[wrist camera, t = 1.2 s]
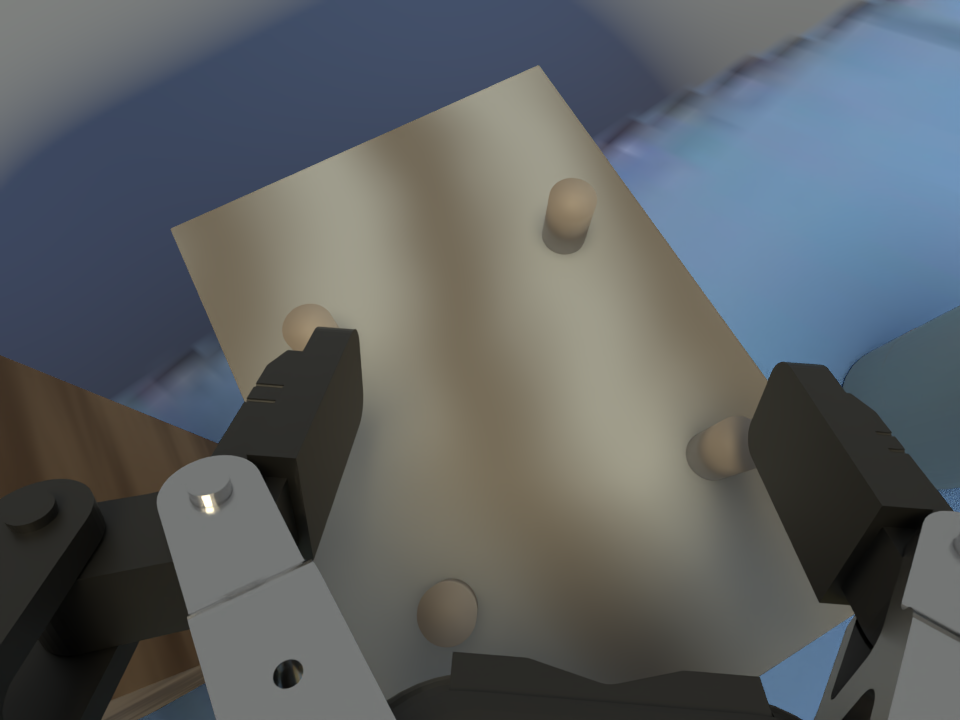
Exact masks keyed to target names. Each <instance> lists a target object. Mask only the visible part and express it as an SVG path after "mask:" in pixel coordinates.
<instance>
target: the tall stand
mask: <svg viewBox="0 0 960 720" xmlns="http://www.w3.org/2000/svg"><path fill="white" fill-rule="evenodd" d="M217 445H218V443H215V442H213V441H210V440H208V439H205V438H203V437H200V436H198V435H195V434H193V433H191V432H188V431H186V430H183V429H181V428H178V427H176V426H173V425H171V424H168V423H166V422H163V421H161V420H158V419H156V418H154V417H151V416H149V415H146V414H144V413H141V412H139V411H136V410H134V409H131V408H129V407H126V406H124V405H121V404H119V403H117V402H114V401H112V400H109V399H107V398H104V397H102V396H99V395H97V394H94V393H92V392H89V391H87V390H84V389H82V388H79V387H77V386H74V385H72V384H70V383H67V382H65V381H62V380H60V379H57V378H55V377H52V376H50V375H47V374H45V373H43V372H40V371H38V370H35V369H33V368H30V367H28V366H25V365H23V364H20V363H18V362H15V361H13V360H10V359H8V358H5V357H3V356H1V355H0V499H1V498H2V497H4V496H6V495H8V494H9V493H11V492H13V491H15V490H17V489H20V488H22V487H24V486H27V485H30V484H33V483H37V482H41V481H45V480H52V479H71V480H75V481H79V482H81V483H83V484H85V485H86V486H87V487H89V488H90V490H91V491H92V493H93V495H94V497H95V500H96V502H102V501H108V500H114V499H120V498H126V497H132V496H138V495H144V494H149V493H154V492H158V491H160V489H161V487H162V486H163V484H164V483H165V482H166V480H167V479H168V478H169V477H170V476H171V475H173V474H174V473H175V472H176V471H178V470H179V469H181V468H182V467H184V466H186V465H188V464H189V463H192V462H194V461H197V460H199V459H203V458H206V457H211V455H212V454H213V452H214V450H215V449H216V447H217ZM204 683H205V680H204V676H203V673H202V669H201V666H200V662H199V659H198V655H197V652H196V649H195V645H194V642H193V638H192V635H191V631H190V630H185V631H181V632H177V633H172V634H168V635H163V636H159V637H154V638H150V639H146V640H141V641H139V643H138V645H137V648H136V650H135V652H134V654H133V656H132V658H131V660H130V662H129V664H128V666H127V668H126V670H125V672H124V674H123V676H122V678H121V680H120V682H119V684H118V686H117V688H116V691H115V693H114V695H113V697H112V699H111V701H110V703H109V705H108V707H107V709H106V711H105V713H104V715H103V717H102V719H101V720H138V719H140V718H142V717H144V716H146V715H148V714H150V713H152V712H154V711H156V710H158V709H160V708H161V707H163V706H165V705H167V704H169V703H170V702H172V701H174V700H176V699H177V698H179V697H181V696H183V695H184V694H186V693H188V692H190V691H192V690H193V689H195V688H197V687H199V686H200V685H202V684H204Z"/></svg>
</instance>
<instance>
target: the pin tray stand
mask: <svg viewBox="0 0 960 720" xmlns="http://www.w3.org/2000/svg"><path fill="white" fill-rule="evenodd" d="M171 231H172V233H173V236H174V238H175V240H176V243H177V245H178V247H179V250H180V252H181V254H182V257H183V259H184V261H185V264H186V266H187V268H188V271H189V273H190V275H191V277H192V280H193V282H194V285H195V287H196V289H197V291H198V294H199V296H200V299H201V301H202V303H203V305H204V308H205V310H206V312H207V315H208V317H209V319H210V322H211V324H212V326H213V329H214V331H215V334H216V336H217V338H218V341H219V343H220V345H221V348H222V350H223V352H224V355H225V357H226V359H227V362H228V364H229V366H230V369H231V371H232V373H233V375H234V378H235V380H236V382H237V385H238V387H239V389H240V392H241V394H242V396H243V399H244V401H245V402H246V401H247V397H248V395H249V393H250V392H251V390H252V389H253V387H256V382H257V380H258V379H259V377H260V376H261V374H262V372H263V371H264V369H265V367H266V366H267V365H268V364H269V363H270V362H272V361H273V360H274V359H276V358H277V357H279V356H280V355H281V354H283V353H284V352H285V351H287V350H295V351H303V350H304V348H305V346H306V344H307V342H308V341H309V339H310V337H311V335H312V333H313V331H314V330H315V328H316V327H318V326H319V327H332V328H346V329H356V330H357V332H358V335H359V341H360V355H361V368H362V381H363V411H362V417H361V422H360V425H359V428H358V431H357V434H356V437H355V440H354V443H353V446H352V449H351V452H350V455H349V458H348V461H347V464H346V467H345V470H344V473H343V476H342V478H341V481H340V484H339V487H338V490H337V493H336V496H335V499H334V502H333V505H332V508H331V511H330V514H329V517H328V520H327V523H326V526H325V529H324V532H323V535H322V537H321V540H320V543H319V546H318V549H317V552H316V555H315V558H314V561H313V562H314V563H315V565H316V566H317V568H318V570H319V572H320V573H321V575H322V577H323V579H324V581H325V583H326V585H327V587H328V589H329V591H330V593H331V595H332V597H333V598H334V600H335V602H336V604H337V606H338V608H339V610H340V612H341V614H342V616H343V618H344V620H345V622H346V624H347V626H348V628H349V629H350V631H351V633H352V635H353V637H354V639H355V641H356V643H357V645H358V647H359V649H360V651H361V653H362V655H363V657H364V659H365V660H366V662H367V664H368V666H369V668H370V670H371V672H372V674H373V676H374V678H375V680H376V682H377V684H378V686H379V688H380V690H381V691H382V693H383V695H384V697H385V699H386V701H387V700H388V699H390V698H391V697H393V696H394V695H396V694H398V693H399V692H401V691H403V690H405V689H407V688H409V687H411V686H413V685H416V684H418V683H421V682H424V681H427V680H430V679H433V678H437V677H441V676H446V675H451V665H452V654H453V652H464V653H476V654H489V655H501V656H513V657H525V658H530V659H533V660H536V661H539V662H542V663H545V664H547V665H550V666H553V667H556V668H559V669H562V670H565V671H568V672H571V673H574V674H576V675H579V676H582V677H585V678H588V679H591V680H594V681H597V682H600V683H604V684H618V683H623V682H628V681H633V680H638V679H643V678H648V677H653V676H658V675H663V674H668V673H673V672H678V671H683V670H684V671H697V672H709V673H721V674H733V675H746V676H758V677H759V676H761V675H762V674H764V673H765V672H767V671H768V670H770V669H771V668H773V667H774V666H776V665H777V664H779V663H780V662H782V661H784V660H785V659H787V658H788V657H790V656H791V655H793V654H794V653H796V652H797V651H799V650H800V649H802V648H803V647H805V646H806V645H808V644H809V643H811V642H812V641H814V640H816V639H817V638H819V637H820V636H822V635H823V634H825V633H826V632H828V631H829V630H831V629H832V628H834V627H835V626H837V625H838V624H840V623H841V622H843V621H845V620H846V619H848V618H849V617H851V616H852V615H854V612H853V610H852V608H851V606H850V605H839V604H827V603H819V602H818V599H817V597H816V595H815V593H814V591H813V589H812V586H811V584H810V582H809V580H808V578H807V576H806V574H805V571H804V569H803V567H802V565H801V563H800V561H799V559H798V556H797V554H796V552H795V550H794V548H793V546H792V543H791V541H790V539H789V537H788V535H787V533H786V531H785V528H784V526H783V524H782V522H781V520H780V518H779V516H778V513H777V511H776V509H775V507H774V505H773V503H772V500H771V498H770V496H769V494H768V492H767V490H766V488H765V485H764V483H763V481H762V479H761V477H760V475H759V473H758V470H757V468H756V466H755V464H754V462H753V460H752V457H751V455H750V452H749V447H748V431H749V426H750V423H751V421H752V418H753V416H754V413H755V411H756V408H757V406H758V404H759V401H760V399H761V396H762V394H763V392H764V389H765V387H766V384H767V382H768V381H767V379H766V378H765V376H764V375H763V374H762V372H761V371H760V370H759V368H758V367H757V365H756V364H755V363H754V361H753V360H752V359H751V357H750V356H749V354H748V353H747V352H746V350H745V349H744V348H743V346H742V345H741V343H740V342H739V341H738V339H737V338H736V336H735V335H734V334H733V332H732V331H731V330H730V328H729V327H728V325H727V324H726V323H725V321H724V320H723V319H722V317H721V316H720V314H719V313H718V312H717V310H716V309H715V308H714V306H713V305H712V303H711V302H710V301H709V299H708V298H707V297H706V295H705V294H704V292H703V291H702V290H701V288H700V287H699V285H698V284H697V283H696V281H695V280H694V279H693V277H692V276H691V274H690V273H689V272H688V270H687V269H686V268H685V266H684V265H683V263H682V262H681V261H680V259H679V258H678V257H677V255H676V254H675V252H674V251H673V250H672V248H671V247H670V246H669V244H668V243H667V241H666V240H665V239H664V237H663V236H662V234H661V233H660V232H659V230H658V229H657V228H656V226H655V225H654V223H653V222H652V221H651V219H650V218H649V217H648V215H647V214H646V212H645V211H644V210H643V208H642V207H641V206H640V204H639V203H638V201H637V200H636V199H635V197H634V196H633V194H632V193H631V192H630V190H629V189H628V188H627V186H626V185H625V183H624V182H623V181H622V179H621V178H620V177H619V175H618V174H617V172H616V171H615V170H614V168H613V167H612V166H611V164H610V163H609V161H608V160H607V159H606V157H605V156H604V155H603V153H602V152H601V150H600V149H599V148H598V146H597V145H596V143H595V142H594V141H593V139H592V138H591V137H590V135H589V134H588V133H587V131H586V130H585V128H584V127H583V126H582V124H581V123H580V122H579V120H578V119H577V117H576V116H575V115H574V113H573V112H572V111H571V109H570V108H569V107H568V105H567V104H566V102H565V101H564V100H563V98H562V97H561V95H560V94H559V93H558V91H557V90H556V88H555V87H554V86H553V85H552V83H551V82H550V80H549V79H548V77H547V76H546V75H545V73H544V72H543V70H542V69H541V68H540V66H539V65H538V66H536V67H534V68H531V69H529V70H527V71H524V72H522V73H520V74H518V75H515V76H513V77H511V78H509V79H506V80H504V81H502V82H500V83H498V84H495V85H493V86H491V87H489V88H486V89H484V90H482V91H480V92H477V93H475V94H473V95H471V96H468V97H466V98H464V99H462V100H459V101H457V102H455V103H452V104H450V105H448V106H446V107H443V108H441V109H439V110H437V111H434V112H432V113H430V114H428V115H426V116H423V117H421V118H419V119H417V120H414V121H412V122H410V123H408V124H405V125H403V126H401V127H399V128H396V129H394V130H392V131H390V132H387V133H385V134H383V135H381V136H378V137H376V138H374V139H372V140H369V141H367V142H365V143H363V144H360V145H358V146H356V147H354V148H351V149H349V150H347V151H345V152H342V153H340V154H338V155H336V156H333V157H331V158H329V159H327V160H324V161H322V162H320V163H318V164H315V165H313V166H311V167H309V168H306V169H304V170H302V171H300V172H298V173H295V174H293V175H291V176H288V177H286V178H284V179H282V180H279V181H277V182H275V183H273V184H270V185H268V186H266V187H264V188H261V189H259V190H257V191H255V192H252V193H250V194H248V195H246V196H244V197H241V198H239V199H237V200H234V201H232V202H230V203H228V204H225V205H223V206H221V207H219V208H217V209H214V210H212V211H210V212H208V213H205V214H203V215H201V216H198V217H196V218H194V219H192V220H189V221H187V222H185V223H183V224H180V225H178V226H176V227H174V228H171Z"/></svg>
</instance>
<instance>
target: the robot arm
mask: <svg viewBox="0 0 960 720" xmlns="http://www.w3.org/2000/svg"><path fill="white" fill-rule="evenodd" d="M362 411H363V381H362V368H361V355H360V341H359V335H358V332H357V330H356V329H346V328H332V327H319V326H318V327H316V328H315V330H314V331H313V333H312V335H311V337H310V339H309V341H308V342H307V344H306V346H305V348H304V350H303V351H295V350H287V351H285V352H284V353H283V354H281V355H280V356H279V357H277V358H276V359H274V360H273V361H272V362H270V363H269V364H268V365H267V366H266V367H265V369H264V371H263V372H262V374H261V376H260V377H259V379H258V380H257V382H256V387H253V389H252V390H251V392H250V393H249V395H248V397H247V401H246V402H244V403H243V405H242V406H241V408H240V410H239V411H238V413H237V415H236V416H235V418H234V419H233V421H232V423H231V424H230V426H229V428H228V429H227V431H226V432H225V434H224V436H223V437H222V439H221V441H220V442H219V444H218V445H217V447H216V449H215V450H214V452H213V454H212V455H211V457H206V458H203V459H199V460H197V461H194V462H192V463H189V464H188V465H186V466H184V467H182V468H181V469H179V470H178V471H176V472H175V473H174V474H173V475H171V476H170V477H169V478H168V479H167V480H166V482H165V483H164V484H163V486H162V487H161V489H160V491H158V492H154V493H149V494H144V495H138V496H132V497H126V498H120V499H114V500H108V501H102V502H96V500H95V497H94V495H93V493H92V491H91V490H90V488H89V487H87V486H86V485H85V484H83V483H81V482H79V481H75V480H71V479H52V480H45V481H41V482H37V483H33V484H30V485H27V486H24V487H22V488H20V489H17V490H15V491H13V492H11V493H9V494H8V495H6V496H4V497H2V498H1V499H0V720H101V719H102V717H103V715H104V713H105V711H106V709H107V707H108V705H109V703H110V701H111V699H112V697H113V695H114V693H115V691H116V688H117V686H118V684H119V682H120V680H121V678H122V676H123V674H124V672H125V670H126V668H127V666H128V664H129V662H130V660H131V658H132V656H133V654H134V652H135V650H136V648H137V645H138V643H139V641H141V640H146V639H150V638H154V637H159V636H163V635H168V634H172V633H177V632H181V631H185V630H190V631H191V635H192V638H193V642H194V645H195V649H196V652H197V655H198V659H199V662H200V666H201V669H202V673H203V676H204V680H205V683H206V686H207V690H208V693H209V697H210V700H211V704H212V707H213V710H214V714H215V717H216V720H802V719H800V718H798V717H797V716H795V715H793V714H791V713H789V712H786V711H784V710H782V709H780V708H778V707H776V706H773V705H770V704H768V701H767V698H766V695H765V692H764V689H763V686H762V683H761V680H760V677H758V676H746V675H733V674H721V673H709V672H697V671H684V670H683V671H678V672H673V673H668V674H663V675H658V676H653V677H648V678H643V679H638V680H633V681H628V682H623V683H618V684H604V683H600V682H597V681H594V680H591V679H588V678H585V677H582V676H579V675H576V674H574V673H571V672H568V671H565V670H562V669H559V668H556V667H553V666H550V665H547V664H545V663H542V662H539V661H536V660H533V659H530V658H525V657H513V656H501V655H489V654H476V653H464V652H453V654H452V665H451V675H446V676H441V677H437V678H433V679H430V680H427V681H424V682H421V683H418V684H416V685H413V686H411V687H409V688H407V689H405V690H403V691H401V692H399V693H398V694H396V695H394V696H393V697H391V698H390V699H388V700H387V701H386V699H385V697H384V695H383V693H382V691H381V690H380V688H379V686H378V684H377V682H376V680H375V678H374V676H373V674H372V672H371V670H370V668H369V666H368V664H367V662H366V660H365V659H364V657H363V655H362V653H361V651H360V649H359V647H358V645H357V643H356V641H355V639H354V637H353V635H352V633H351V631H350V629H349V628H348V626H347V624H346V622H345V620H344V618H343V616H342V614H341V612H340V610H339V608H338V606H337V604H336V602H335V600H334V598H333V597H332V595H331V593H330V591H329V589H328V587H327V585H326V583H325V581H324V579H323V577H322V575H321V573H320V572H319V570H318V568H317V566H316V565H315V563H314V562H313V561H314V558H315V555H316V552H317V549H318V546H319V543H320V540H321V537H322V535H323V532H324V529H325V526H326V523H327V520H328V517H329V514H330V511H331V508H332V505H333V502H334V499H335V496H336V493H337V490H338V487H339V484H340V481H341V478H342V476H343V473H344V470H345V467H346V464H347V461H348V458H349V455H350V452H351V449H352V446H353V443H354V440H355V437H356V434H357V431H358V428H359V425H360V422H361V417H362ZM748 447H749V452H750V455H751V457H752V460H753V462H754V464H755V466H756V468H757V470H758V473H759V475H760V477H761V479H762V481H763V483H764V485H765V488H766V490H767V492H768V494H769V496H770V498H771V500H772V503H773V505H774V507H775V509H776V511H777V513H778V516H779V518H780V520H781V522H782V524H783V526H784V528H785V531H786V533H787V535H788V537H789V539H790V541H791V543H792V546H793V548H794V550H795V552H796V554H797V556H798V559H799V561H800V563H801V565H802V567H803V569H804V571H805V574H806V576H807V578H808V580H809V582H810V584H811V586H812V589H813V591H814V593H815V595H816V597H817V599H818V602H819V603H827V604H839V605H850V606H851V608H852V610H853V612H854V614H855V616H854V618H853V619H852V620H851V622H850V623H849V625H848V626H847V628H846V631H845V634H844V637H843V640H842V643H841V646H840V648H839V651H838V654H837V657H836V660H835V663H834V666H833V669H832V672H831V674H830V677H829V680H828V683H827V686H826V689H825V692H824V695H823V697H822V700H821V703H820V706H819V709H818V711H817V714H816V716H815V718H814V720H960V512H954V511H953V510H952V508H951V507H950V506H949V504H948V503H947V502H946V501H945V499H944V498H943V497H942V496H941V494H940V493H939V492H938V490H944V489H953V488H960V306H958V307H956V308H954V309H952V310H950V311H948V312H946V313H944V314H943V315H941V316H939V317H937V318H935V319H933V320H931V321H929V322H927V323H925V324H923V325H921V326H919V327H917V328H915V329H913V330H911V331H909V332H907V333H905V334H903V335H901V336H900V337H898V338H896V339H894V340H892V341H890V342H888V343H886V344H884V345H882V346H880V347H879V348H877V349H875V350H873V351H871V352H869V353H868V354H866V355H864V356H862V357H861V358H860V359H859V360H858V361H857V362H856V363H855V364H854V365H853V366H852V368H851V369H850V371H849V373H848V374H847V376H846V378H845V381H844V384H843V388H842V387H841V385H840V384H839V383H838V381H837V380H836V379H835V377H834V376H833V375H832V373H831V372H830V371H829V369H828V368H827V367H825V366H824V365H817V364H804V363H790V362H780V363H778V364H777V365H776V366H775V367H774V369H773V370H772V372H771V375H770V377H769V379H768V382H767V384H766V387H765V389H764V392H763V394H762V396H761V399H760V401H759V404H758V406H757V408H756V411H755V413H754V416H753V418H752V421H751V423H750V426H749V431H748ZM312 560H313V561H312Z"/></svg>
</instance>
